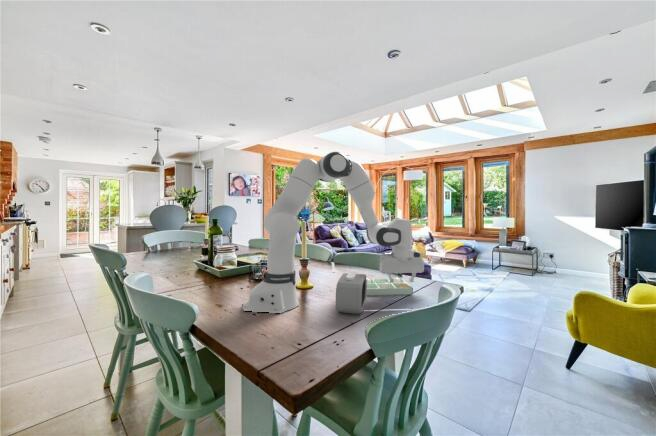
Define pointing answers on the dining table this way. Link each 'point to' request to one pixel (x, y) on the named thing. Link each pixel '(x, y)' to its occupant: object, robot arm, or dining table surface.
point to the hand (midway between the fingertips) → (401, 282)
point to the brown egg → (403, 285)
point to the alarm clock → (351, 293)
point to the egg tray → (376, 289)
